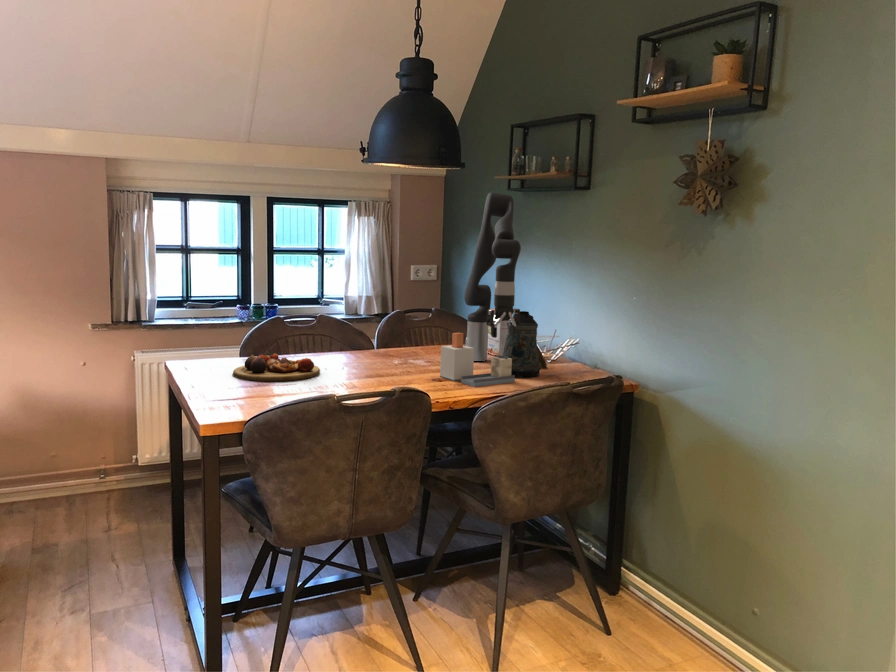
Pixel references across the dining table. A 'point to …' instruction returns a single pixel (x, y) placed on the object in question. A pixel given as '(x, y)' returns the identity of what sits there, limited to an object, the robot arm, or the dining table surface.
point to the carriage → (501, 366)
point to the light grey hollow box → (456, 362)
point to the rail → (486, 379)
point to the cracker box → (497, 338)
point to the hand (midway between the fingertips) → (502, 336)
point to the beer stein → (523, 348)
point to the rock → (541, 359)
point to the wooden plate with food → (275, 369)
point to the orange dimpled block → (457, 340)
